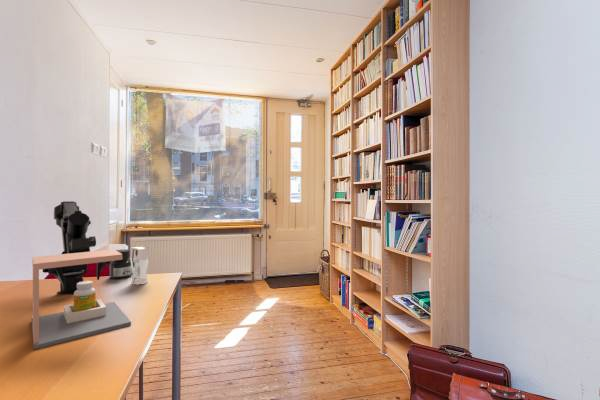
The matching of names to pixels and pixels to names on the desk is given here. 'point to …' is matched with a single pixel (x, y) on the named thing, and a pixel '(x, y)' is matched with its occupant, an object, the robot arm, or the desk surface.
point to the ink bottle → (121, 266)
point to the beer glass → (139, 265)
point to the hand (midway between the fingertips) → (81, 281)
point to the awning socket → (70, 322)
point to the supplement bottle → (84, 296)
